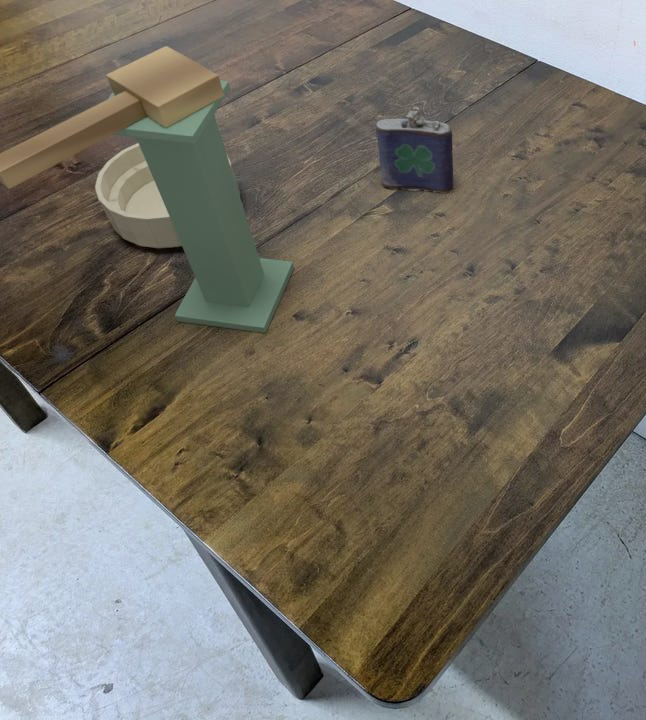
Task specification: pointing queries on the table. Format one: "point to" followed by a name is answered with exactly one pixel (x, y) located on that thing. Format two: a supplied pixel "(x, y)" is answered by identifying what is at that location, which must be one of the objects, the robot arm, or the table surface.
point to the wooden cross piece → (119, 111)
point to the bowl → (136, 200)
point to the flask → (415, 153)
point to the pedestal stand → (210, 223)
